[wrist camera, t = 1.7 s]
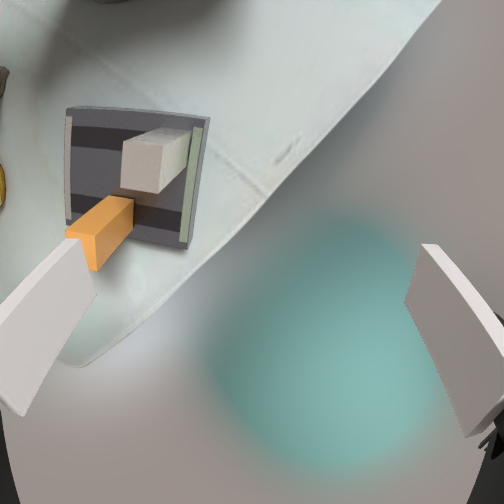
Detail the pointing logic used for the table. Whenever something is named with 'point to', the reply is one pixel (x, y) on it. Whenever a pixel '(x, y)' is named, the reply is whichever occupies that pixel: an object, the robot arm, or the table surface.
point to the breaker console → (136, 167)
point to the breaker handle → (103, 229)
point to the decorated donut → (2, 186)
